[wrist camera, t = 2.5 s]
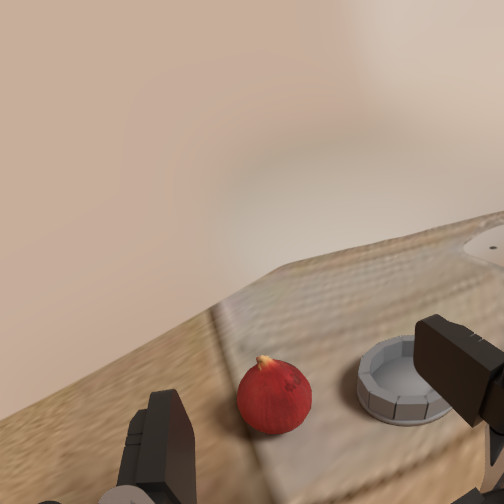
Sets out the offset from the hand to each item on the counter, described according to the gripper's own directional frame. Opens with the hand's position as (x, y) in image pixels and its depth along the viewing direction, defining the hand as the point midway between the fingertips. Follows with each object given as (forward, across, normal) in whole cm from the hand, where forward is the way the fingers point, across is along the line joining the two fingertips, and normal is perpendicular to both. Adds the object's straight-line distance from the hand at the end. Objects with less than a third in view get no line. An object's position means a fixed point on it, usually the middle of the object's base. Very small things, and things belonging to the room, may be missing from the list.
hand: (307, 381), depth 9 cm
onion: (+12, 0, +14) cm, 18 cm away
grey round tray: (+11, -12, +14) cm, 22 cm away
